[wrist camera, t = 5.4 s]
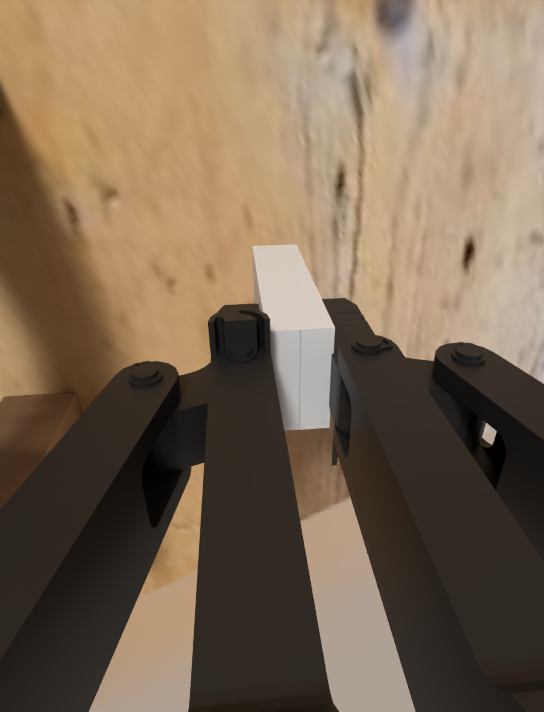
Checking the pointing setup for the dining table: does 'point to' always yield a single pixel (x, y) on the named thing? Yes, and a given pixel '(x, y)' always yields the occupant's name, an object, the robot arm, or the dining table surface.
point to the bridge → (31, 433)
